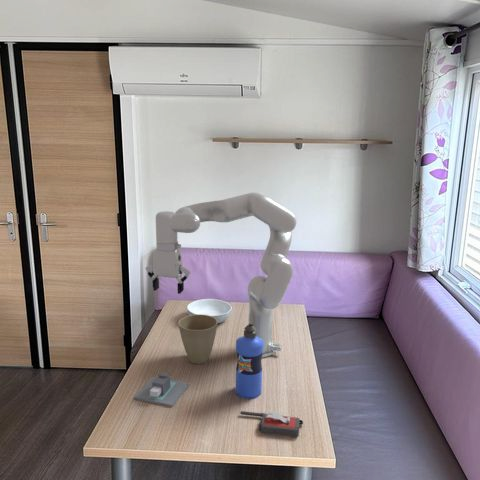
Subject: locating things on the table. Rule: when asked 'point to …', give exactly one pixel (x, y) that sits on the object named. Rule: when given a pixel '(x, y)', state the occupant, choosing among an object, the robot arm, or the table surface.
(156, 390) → the usb plug
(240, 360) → the water bottle
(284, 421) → the walkie-talkie
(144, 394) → the dock pad
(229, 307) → the serving bowl
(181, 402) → the table surface
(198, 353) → the plant pot
